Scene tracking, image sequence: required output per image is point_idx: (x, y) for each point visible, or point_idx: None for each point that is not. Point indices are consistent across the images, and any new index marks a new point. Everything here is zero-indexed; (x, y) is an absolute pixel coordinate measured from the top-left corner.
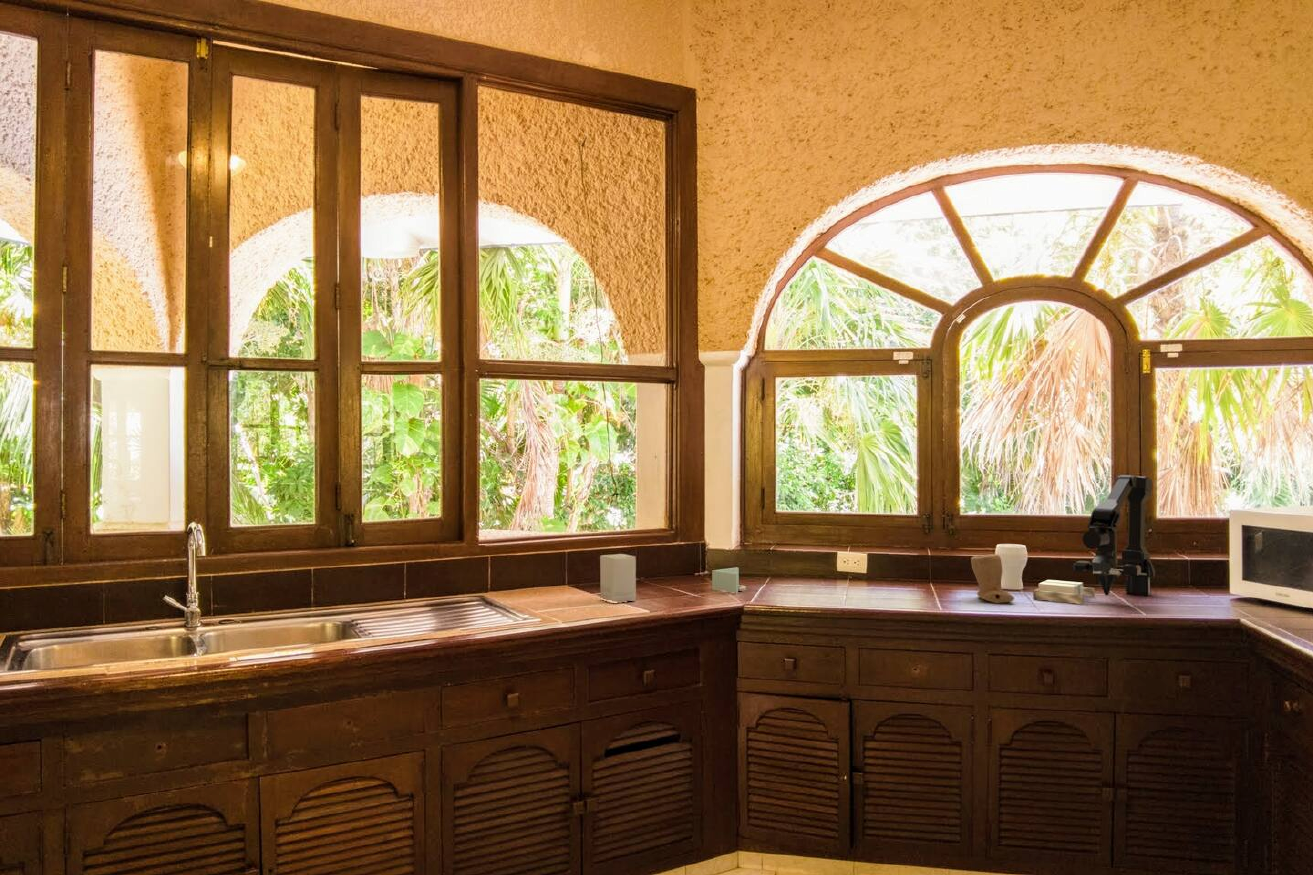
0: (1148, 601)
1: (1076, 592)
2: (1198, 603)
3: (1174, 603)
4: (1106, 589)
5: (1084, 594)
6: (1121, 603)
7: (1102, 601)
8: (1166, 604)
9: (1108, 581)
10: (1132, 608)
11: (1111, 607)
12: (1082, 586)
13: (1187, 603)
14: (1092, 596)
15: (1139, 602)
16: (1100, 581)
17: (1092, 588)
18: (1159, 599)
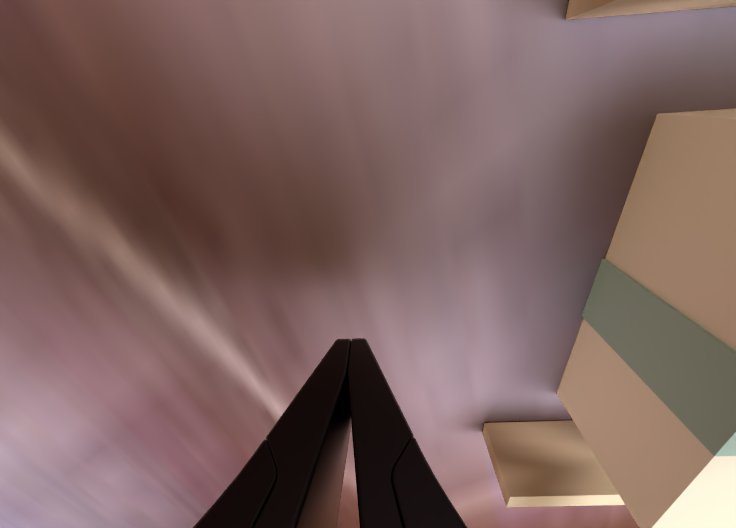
0: (181, 459)
1: (720, 241)
2: (9, 511)
3: (61, 471)
4: (342, 383)
5: (554, 434)
6: (253, 324)
7: (400, 324)
8: (55, 434)
9: (268, 520)
10: (21, 120)
11: (196, 7)
12: (624, 478)
13: (31, 494)
14: (496, 427)
15: (193, 415)
16: (439, 502)
17: (520, 493)
18: (183, 514)
